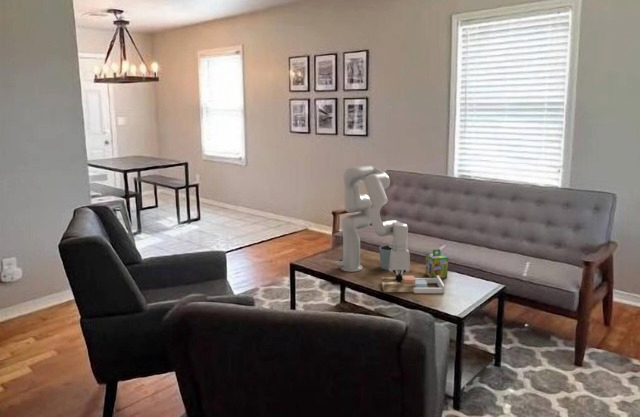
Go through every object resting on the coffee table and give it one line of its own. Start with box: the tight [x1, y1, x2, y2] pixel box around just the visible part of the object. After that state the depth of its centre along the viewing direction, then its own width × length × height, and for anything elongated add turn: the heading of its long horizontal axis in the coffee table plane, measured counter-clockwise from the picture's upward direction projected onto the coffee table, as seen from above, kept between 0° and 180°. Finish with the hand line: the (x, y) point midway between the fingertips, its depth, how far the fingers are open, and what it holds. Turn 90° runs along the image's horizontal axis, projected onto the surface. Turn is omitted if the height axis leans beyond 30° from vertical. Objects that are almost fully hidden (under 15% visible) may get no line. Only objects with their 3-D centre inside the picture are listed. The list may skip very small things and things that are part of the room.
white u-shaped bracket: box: [413, 275, 446, 294], centre depth 259 cm, size 15×15×4 cm
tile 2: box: [414, 280, 428, 288], centre depth 259 cm, size 6×6×4 cm
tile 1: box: [402, 274, 416, 286], centre depth 259 cm, size 6×6×4 cm
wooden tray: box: [381, 276, 414, 293], centre depth 259 cm, size 15×12×4 cm
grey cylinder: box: [379, 244, 392, 271], centre depth 290 cm, size 10×10×12 cm
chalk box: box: [424, 248, 449, 279], centre depth 275 cm, size 9×9×15 cm
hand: (398, 281), depth 259 cm, fingers closed
